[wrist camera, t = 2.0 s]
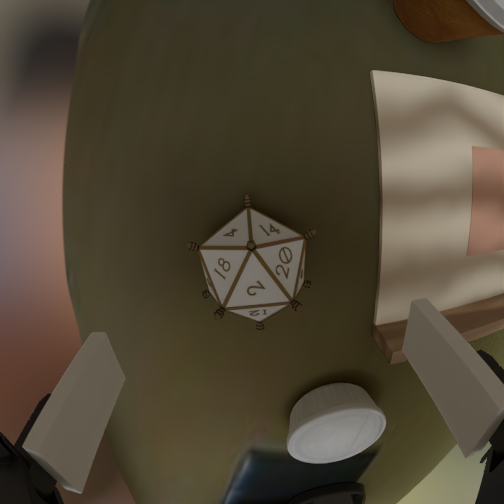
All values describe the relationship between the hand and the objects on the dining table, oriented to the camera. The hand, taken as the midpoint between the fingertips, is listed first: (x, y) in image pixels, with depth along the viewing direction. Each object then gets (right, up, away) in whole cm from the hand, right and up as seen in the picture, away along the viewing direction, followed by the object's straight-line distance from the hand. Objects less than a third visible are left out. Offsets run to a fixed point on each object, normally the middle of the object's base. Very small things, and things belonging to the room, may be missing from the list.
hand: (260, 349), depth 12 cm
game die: (0, +4, +13) cm, 14 cm away
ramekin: (+9, -15, +20) cm, 26 cm away
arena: (+23, +8, +12) cm, 27 cm away
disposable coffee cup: (+15, +26, +6) cm, 31 cm away
